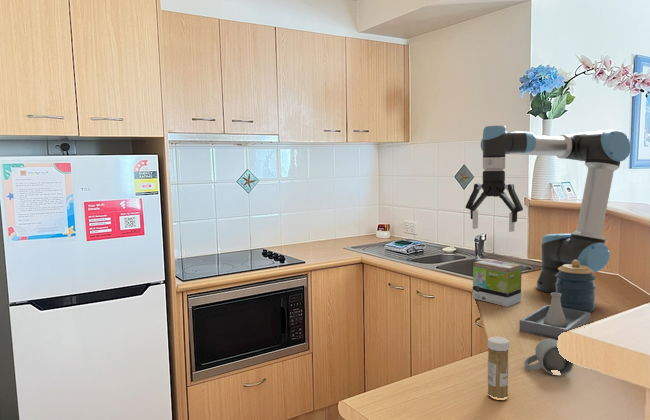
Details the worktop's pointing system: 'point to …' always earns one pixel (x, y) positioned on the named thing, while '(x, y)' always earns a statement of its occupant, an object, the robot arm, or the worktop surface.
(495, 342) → the sprinkles bottle
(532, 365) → the ceramic mug
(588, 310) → the canister
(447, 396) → the worktop surface
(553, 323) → the flask
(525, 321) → the charcoal tray
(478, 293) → the tea box
